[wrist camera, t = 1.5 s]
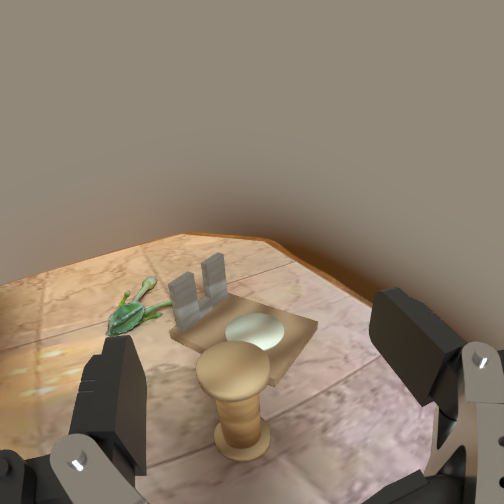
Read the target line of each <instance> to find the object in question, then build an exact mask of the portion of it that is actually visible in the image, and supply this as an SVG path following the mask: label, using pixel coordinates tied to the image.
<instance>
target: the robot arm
mask: <svg viewBox="0 0 504 504" xmlns="http://www.w3.org/2000/svg"><path fill="white" fill-rule="evenodd" d="M369 336H370V339H371V342H372V344H373V345H374V346H375V347H376V349H377V350H378V351H379V353H380V354H381V355H382V356H383V358H384V359H385V360H386V361H387V363H388V364H389V365H390V366H391V368H392V369H393V370H394V371H395V373H396V374H397V375H398V377H399V378H400V379H401V380H402V382H403V383H404V384H405V386H406V387H407V388H408V389H409V391H410V392H411V393H412V395H413V396H414V397H415V399H416V400H417V401H418V403H419V404H420V405H421V406H422V407H423V406H425V405H427V404H429V403H431V402H433V401H434V402H435V403H436V404H437V405H436V407H435V410H434V421H433V435H432V446H431V455H430V459H429V462H428V464H427V466H426V469H425V471H424V474H422V472H421V470H420V469H419V470H417V471H416V472H414V473H412V474H410V475H408V476H406V477H404V478H402V479H400V480H398V481H396V482H394V483H392V484H389V485H387V486H385V487H384V488H382V489H381V490H380V491H378V492H377V493H376V494H374V495H373V496H372V497H370V498H369V499H368V500H366V501H365V502H363V503H362V504H504V350H500V351H496V350H495V349H494V348H492V347H491V346H489V345H487V344H485V343H482V342H471V343H469V344H468V343H467V342H466V341H465V340H463V339H462V338H461V337H460V336H459V335H458V334H457V333H456V332H455V331H454V330H453V329H451V327H449V326H448V325H447V324H446V323H445V322H444V321H442V320H440V318H439V317H438V316H437V315H436V314H435V313H434V314H433V312H432V310H430V309H429V308H428V307H427V306H426V305H424V303H422V302H419V301H417V300H415V299H413V298H411V297H409V296H408V295H406V294H405V293H404V292H403V291H402V290H401V289H400V288H398V287H393V288H389V289H386V290H381V291H378V292H376V294H375V296H374V300H373V307H372V313H371V319H370V324H369ZM78 391H79V393H78V394H77V398H76V402H75V407H74V411H73V416H72V420H71V425H70V430H69V434H68V435H67V436H65V437H63V438H61V439H60V440H59V441H58V442H57V443H56V444H55V445H54V446H53V448H52V450H51V453H50V454H49V455H45V456H41V457H37V458H32V459H28V460H23V459H22V458H21V457H20V456H19V455H18V454H17V453H16V452H14V451H12V450H1V451H0V504H149V503H148V502H147V501H146V500H145V499H144V498H143V497H142V496H141V495H140V493H139V492H138V491H137V490H136V489H135V476H147V474H146V400H147V384H146V377H145V373H144V370H143V367H142V365H141V362H140V360H139V357H138V354H137V351H136V349H135V346H134V343H133V340H132V338H131V336H130V335H124V336H115V337H107V338H106V339H105V342H104V346H103V350H102V354H100V355H93V356H92V357H91V359H90V360H89V361H88V363H87V364H86V365H85V367H84V370H83V374H82V377H81V382H80V385H79V389H78Z"/></svg>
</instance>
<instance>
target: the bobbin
mask: <svg viewBox="0 0 504 504" xmlns="http://www.w3.org/2000/svg"><path fill="white" fill-rule="evenodd" d="M196 372H197V376H198V380H199V384H200V386H201V388H202V389H203V390H204V392H205V393H207V394H208V395H209V396H211V397H213V398H215V402H216V407H217V411H218V415H219V420H220V422H219V423H218V424H217V426H216V428H215V431H214V439H215V443H216V446H217V448H218V450H219V452H220V453H221V454H222V455H224V456H225V457H227V458H228V459H231V460H234V461H240V462H244V461H251V460H254V459H256V458H258V457H260V456H261V455H263V454H264V453H265V452H266V451H267V449H268V447H269V445H270V440H271V433H270V428H269V425H268V424H267V422H266V421H265V420H264V419H263V418H261V417H260V405H259V393H260V392H261V391H262V390H263V389H264V388H265V387H266V385H267V383H268V381H269V378H270V362H269V358H268V356H267V354H266V353H265V352H264V351H263V350H262V349H261V348H260V347H258V346H257V345H254V344H252V343H249V342H245V341H226V342H222V343H218V344H216V345H213V346H211V347H210V348H208V349H207V350H205V351H204V352H203V353H202V354H201V356H200V357H199V359H198V361H197V364H196Z"/></svg>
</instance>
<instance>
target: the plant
mask: <svg viewBox="0 0 504 504" xmlns="http://www.w3.org/2000/svg"><path fill="white" fill-rule="evenodd" d="M156 283H157V279H156V277H154V276H148V277H146V279H145V280H144V281H143V283H142V288H141V289H140V291H139V293H138V294H137V295H136V297H135V298H134V299H133V301H132V302H131V303H128V304H126V303H125V300H126V299H127V297H129V296H130V291H127V292H126V293H125V295H124V298H123V300H122V301H121V303H120V305H119V307H118V309H117V310H116V312H114V313H113V314H112V315H110V316H109V319H108V331H107V332H106V333H105V334H106V335H108V336H110V337H113V336H118V335H119V334H121V333H126V332H127V331H128V330H131V329H133V327H134V326H136V325H137V324H140V323H142V322H144V321H146V320H148V319H151V318H155V319H156V318H159V317H160V316H161V315H162V313H160V312H159V313H154V314H153V315H150V316H147V317H145V318H143V319H142V316H144V315H147V314H149V313H150V312H152V311H153V310H155V309H157V308H160V307H163V306H168V305H172V302H171V301H167V302H162V303H158V304H156V305H153V306H151V307H149V308H147V309H145V308H144V306H143V304H141V303H140V302H138V300H139V299H140V298H141V296H142V295H143V294H144V293H145V292H146V291H147V290H149V289H152V288H154V286H155V285H156Z"/></svg>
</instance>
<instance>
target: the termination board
mask: <svg viewBox="0 0 504 504" xmlns="http://www.w3.org/2000/svg"><path fill="white" fill-rule="evenodd" d="M201 267H202V274H203V281H204V288H205V295H206V296H205V297H204V298H203V299H201V300H200V301H199V302H198V299H197V292H196V286H195V280H194V274H193V273H190V272H186V273H184V274H183V275H181V276H180V277H178V278H177V279H175V280H173V281H172V282H170V283H169V284H168V287H169V292H170V297H171V302H172V306H173V311H174V315H175V320H176V324H177V325H176V326H175V327H174V328H172V329H171V330H170V331H169V332H170V336H171V339H173V340H175V341H177V342H179V343H181V344H183V345H185V346H187V347H189V348H191V349H193V350H195V351H197V352H199V353H201V354H202V353H203V352H204V351H205V350H207V349H208V348H210V347H211V346H213V345H216V344H218V343H222V342H226V341H245V342H249V343H252V344H254V345H257V346H258V347H260V348H261V349H262V350H263V351H264V352H265V353H266V354H267V356H268V358H269V362H270V378H269V381H268V383H267V384H269V385H271V386H273V387H275V386H276V384H277V383H278V382H279V381H280V379H281V378H282V377H283V375H284V374H285V373H286V371H287V370H288V369H289V367H290V366H291V365H292V363H293V362H294V361H295V359H296V358H297V357H298V355H299V354H300V353H301V351H302V350H303V348H304V347H305V346H306V344H307V343H308V341H309V340H310V339H311V337H312V336H313V334H314V333H315V332H316V330H317V325H318V321H314V320H311V319H308V318H305V317H301V316H298V315H295V314H292V313H288V312H285V311H282V310H279V309H276V308H273V307H269V306H266V305H263V304H260V303H257V302H254V301H251V300H248V299H245V298H242V297H239V296H236V295H233V294H230V293H227V285H226V275H225V265H224V255H223V254H221V253H216V254H214V255H213V256H211V257H210V258H208V259H206V260H205V261H203V262H202V263H201Z"/></svg>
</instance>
